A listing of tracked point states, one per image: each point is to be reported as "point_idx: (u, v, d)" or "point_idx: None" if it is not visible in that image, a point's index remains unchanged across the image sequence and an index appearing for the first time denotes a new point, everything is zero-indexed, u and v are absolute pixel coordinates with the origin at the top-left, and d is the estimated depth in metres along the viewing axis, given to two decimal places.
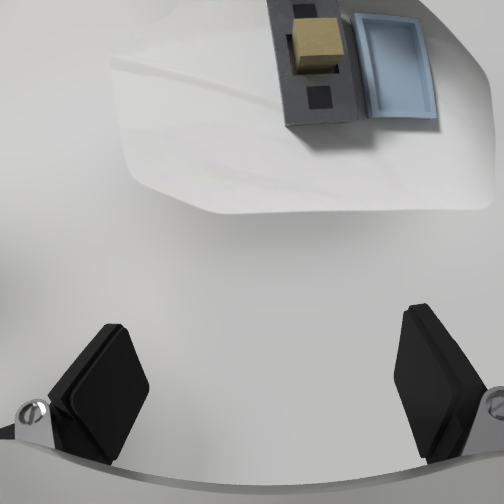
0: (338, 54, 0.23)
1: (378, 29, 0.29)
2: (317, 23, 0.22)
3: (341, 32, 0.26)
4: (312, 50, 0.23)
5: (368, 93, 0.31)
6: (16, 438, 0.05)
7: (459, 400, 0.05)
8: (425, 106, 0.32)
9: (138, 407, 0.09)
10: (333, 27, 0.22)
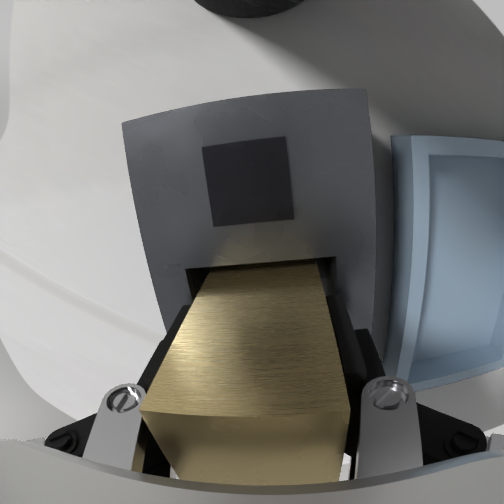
0: None
1: (455, 169, 0.13)
2: (247, 436, 0.05)
3: (366, 254, 0.10)
4: None
5: (396, 353, 0.15)
6: (95, 422, 0.06)
7: None
8: (495, 338, 0.15)
9: None
10: (323, 444, 0.05)
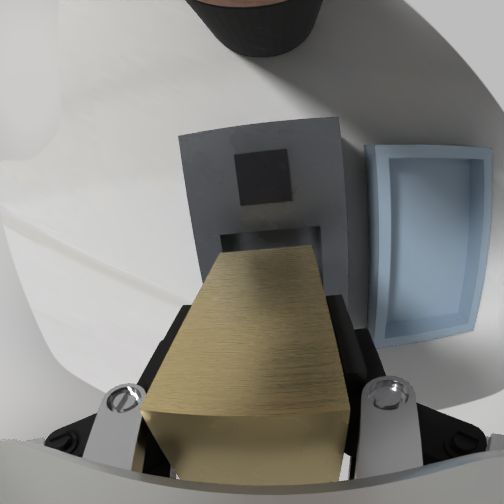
0: None
1: (415, 168, 0.18)
2: (247, 435, 0.05)
3: (340, 224, 0.15)
4: None
5: (374, 311, 0.20)
6: (95, 422, 0.06)
7: None
8: (461, 306, 0.20)
9: None
10: (322, 444, 0.05)
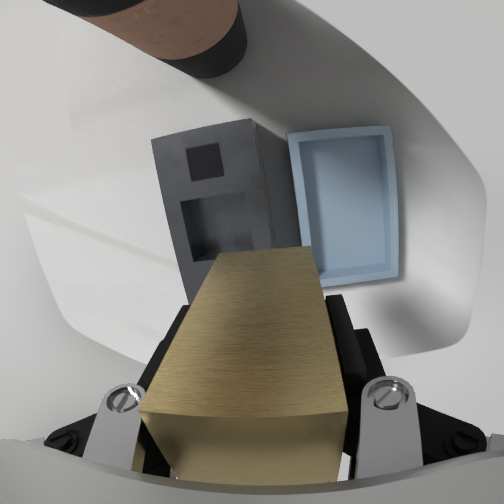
0: None
1: (327, 147, 0.26)
2: (245, 436, 0.05)
3: (258, 189, 0.23)
4: None
5: None
6: (95, 422, 0.06)
7: (344, 384, 0.06)
8: (385, 256, 0.28)
9: None
10: (321, 445, 0.05)
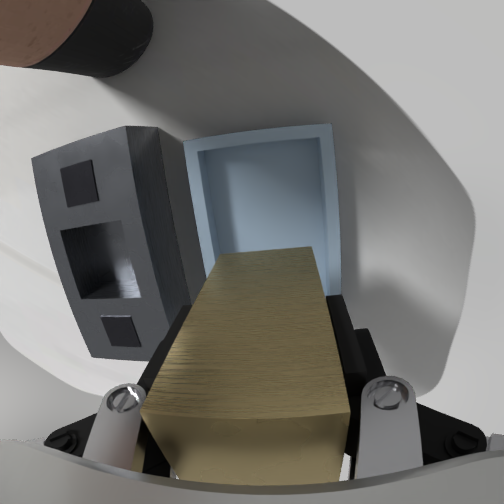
0: None
1: (244, 156, 0.20)
2: (247, 438, 0.05)
3: (136, 218, 0.17)
4: None
5: None
6: (95, 422, 0.06)
7: None
8: None
9: None
10: (323, 446, 0.05)
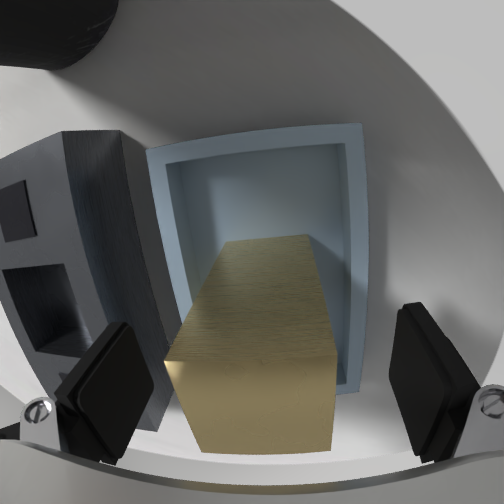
0: (314, 448, 0.08)
1: (235, 169, 0.14)
2: (254, 380, 0.07)
3: (81, 262, 0.11)
4: (235, 446, 0.08)
5: None
6: (21, 436, 0.05)
7: (451, 398, 0.05)
8: (342, 357, 0.17)
9: (143, 405, 0.09)
10: (316, 389, 0.07)
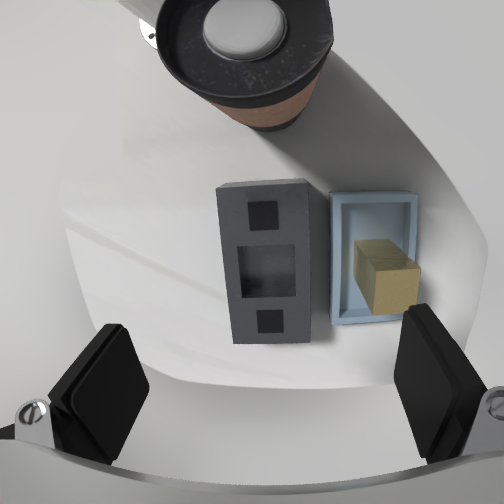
0: None
1: (362, 207, 0.30)
2: (399, 277, 0.23)
3: (306, 243, 0.28)
4: (386, 309, 0.24)
5: (331, 298, 0.32)
6: (16, 438, 0.05)
7: (459, 400, 0.05)
8: None
9: (138, 407, 0.09)
10: (414, 281, 0.23)
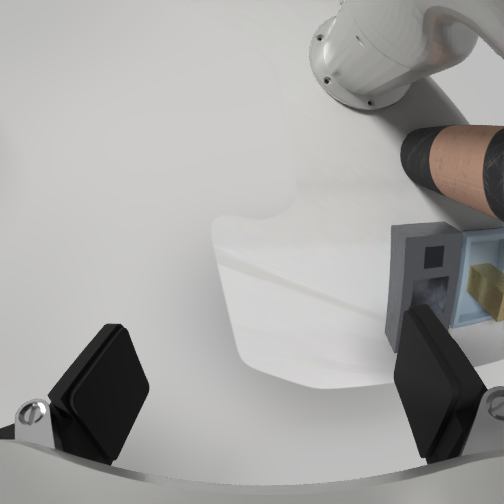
0: None
1: (477, 242, 0.34)
2: None
3: (456, 275, 0.32)
4: (503, 316, 0.28)
5: (454, 309, 0.37)
6: (16, 438, 0.05)
7: (459, 400, 0.05)
8: None
9: (138, 407, 0.09)
10: None
